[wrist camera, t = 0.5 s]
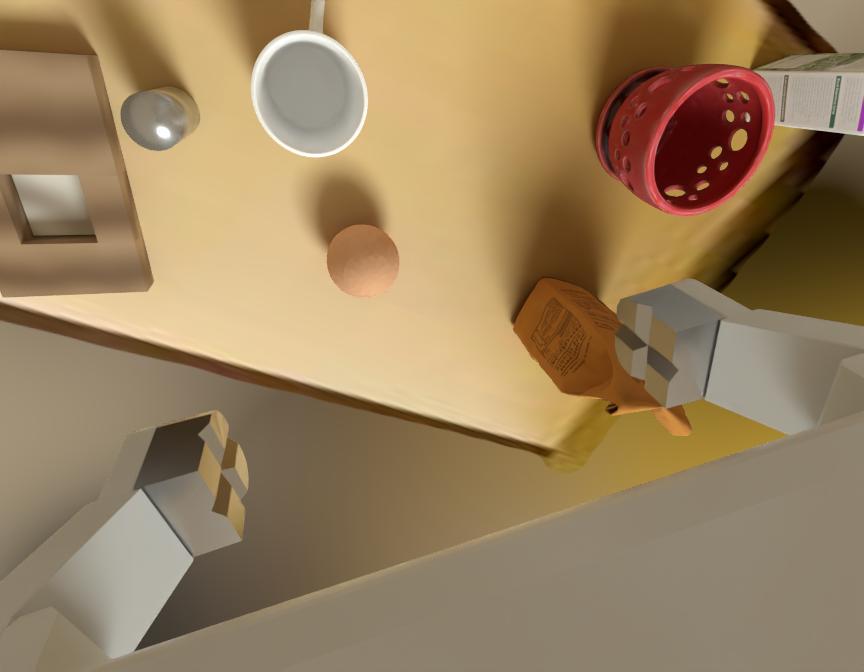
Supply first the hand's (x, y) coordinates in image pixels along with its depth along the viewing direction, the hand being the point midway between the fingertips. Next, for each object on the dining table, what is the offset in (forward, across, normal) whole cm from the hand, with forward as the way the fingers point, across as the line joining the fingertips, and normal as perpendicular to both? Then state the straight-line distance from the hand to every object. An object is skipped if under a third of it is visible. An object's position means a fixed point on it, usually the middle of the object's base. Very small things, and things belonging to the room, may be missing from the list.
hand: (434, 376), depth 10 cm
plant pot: (+43, -33, +7) cm, 55 cm away
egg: (+43, 0, +13) cm, 45 cm away
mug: (+43, 0, -5) cm, 43 cm away
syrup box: (+43, -50, +6) cm, 66 cm away
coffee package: (+43, -23, +28) cm, 56 cm away
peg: (+43, +13, -3) cm, 45 cm away
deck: (+43, +25, 0) cm, 49 cm away
